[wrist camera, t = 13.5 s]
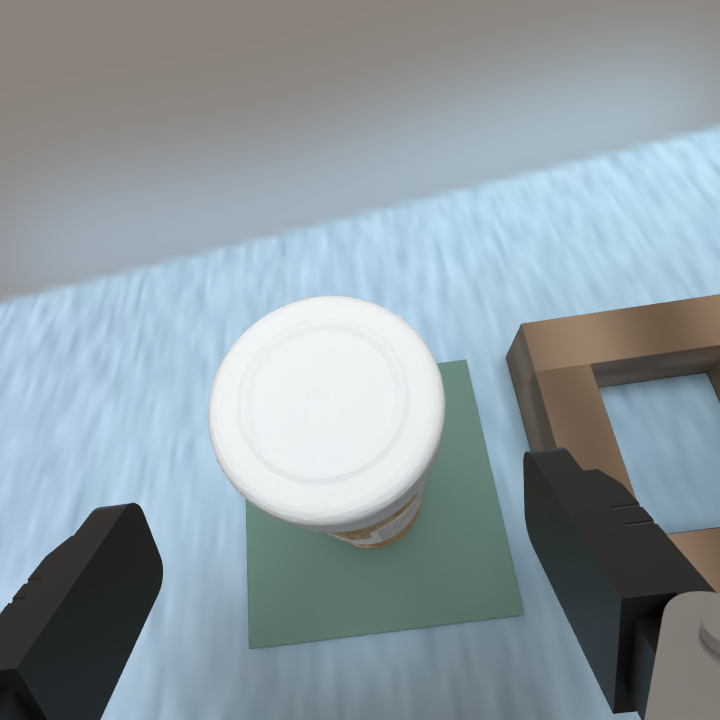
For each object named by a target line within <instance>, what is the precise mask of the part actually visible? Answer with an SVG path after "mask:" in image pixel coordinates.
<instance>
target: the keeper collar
mask: <svg viewBox="0 0 720 720" xmlns="http://www.w3.org/2000/svg"><path fill="white" fill-rule="evenodd" d="M506 359H507V363H508V366H509V370H510V374H511V378H512V382H513V385H514V389H515V393H516V397H517V400H518V404H519V408H520V412H521V415H522V419H523V423H524V427H525V430H526V434H527V438H528V442H529V446H530V449H531V451H537V450H545V449H552V448H560V447H564V448H566V449H567V450H568V451H569V453H570V454H571V455H572V456H573V458H574V459H575V460H576V462H577V463H578V464H579V466H580V467H581V468H582V469H583V471H584V470H592V469H599V470H600V471H602V472H604V473H605V474H607V475H609V476H610V477H612V478H614V479H615V480H617V481H619V482H620V483H622V484H623V485H624V486H625V487H626V488H627V490H628V491H629V492H630V493H631V494H632V495H633V497H634V498H635V499H636V497H635V494H634V491H633V488H632V485H631V483H630V480H629V477H628V474H627V471H626V468H625V465H624V462H623V459H622V456H621V453H620V450H619V447H618V444H617V442H616V439H615V436H614V433H613V430H612V427H611V424H610V421H609V418H608V415H607V412H606V409H605V406H604V403H603V400H602V398H601V395H600V392H599V389H598V387H605V386H612V385H619V384H626V383H633V382H640V381H647V380H654V379H661V378H668V377H675V376H683V375H690V374H697V373H704V372H707V373H708V375H709V378H710V380H711V382H712V384H713V387H714V389H715V391H716V393H717V396H718V398H719V400H720V294H719V295H712V296H706V297H699V298H692V299H685V300H679V301H672V302H665V303H658V304H652V305H645V306H638V307H631V308H625V309H618V310H611V311H604V312H598V313H591V314H584V315H578V316H571V317H564V318H557V319H551V320H544V321H537V322H530V323H524V324H521V326H520V328H519V330H518V332H517V334H516V336H515V338H514V341H513V343H512V345H511V347H510V349H509V351H508V353H507V356H506ZM666 535H667V536H668V537H669V538H670V539H671V541H672V542H673V543H674V544H675V545H676V546H677V548H678V549H679V550H680V551H681V552H682V553H683V554H684V556H685V557H686V558H687V559H688V560H689V561H690V563H691V564H692V565H693V566H694V567H695V568H696V570H697V571H698V572H699V573H700V574H701V575H702V576H703V578H704V579H705V580H706V581H707V582H708V583H709V585H710V586H711V587H712V588H713V589H714V590H715V591H716V592H717V593H719V594H720V527H718V528H710V529H702V530H695V531H687V532H679V533H672V534H666Z"/></svg>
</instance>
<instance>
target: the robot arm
mask: <svg viewBox="0 0 720 720" xmlns="http://www.w3.org/2000/svg"><path fill="white" fill-rule="evenodd" d="M523 467H524V505H525V520H526V526H527V530H528V534H529V538H530V541H531V543H532V546H533V548H534V550H535V552H536V554H537V556H538V558H539V560H540V562H541V565H542V567H543V569H544V571H545V573H546V575H547V577H548V579H549V581H550V583H551V585H552V587H553V590H554V592H555V594H556V596H557V598H558V600H559V602H560V604H561V606H562V608H563V610H564V612H565V615H566V617H567V619H568V621H569V623H570V625H571V627H572V629H573V631H574V633H575V635H576V637H577V640H578V642H579V644H580V646H581V648H582V650H583V652H584V654H585V656H586V658H587V660H588V662H589V665H590V667H591V669H592V671H593V673H594V675H595V677H596V679H597V681H598V683H599V685H600V687H601V690H602V692H603V694H604V696H605V698H606V700H607V702H608V704H609V706H610V708H611V710H612V712H613V714H616V713H625V712H635V711H637V712H638V714H639V716H640V718H641V720H720V594H719V593H717V592H716V591H715V590H714V589H713V588H712V587H711V586H710V585H709V583H708V582H707V581H706V580H705V579H704V578H703V576H702V575H701V574H700V573H699V572H698V571H697V570H696V568H695V567H694V566H693V565H692V564H691V563H690V561H689V560H688V559H687V558H686V557H685V556H684V554H683V553H682V552H681V551H680V550H679V549H678V548H677V546H676V545H675V544H674V543H673V542H672V541H671V539H670V538H669V537H668V536H667V535H666V534H665V532H664V531H663V530H662V529H661V528H660V527H659V526H658V524H654V521H653V519H652V517H651V516H650V515H649V514H648V513H647V512H646V510H645V509H644V508H643V507H640V506H639V502H638V501H637V500H636V499H635V498H634V497H633V495H632V494H631V493H630V492H629V491H628V490H627V488H626V487H625V486H624V485H623V484H622V483H620V482H619V481H617V480H615V479H614V478H612V477H610V476H609V475H607V474H605V473H604V472H602V471H600V470H599V469H592V470H584V471H583V469H582V468H581V467H580V466H579V464H578V463H577V462H576V460H575V459H574V458H573V456H572V455H571V454H570V453H569V451H568V450H567V449H566V448H564V447H560V448H552V449H545V450H537V451H530V452H526V453H525V454H524V459H523ZM162 579H163V565H162V560H161V557H160V554H159V551H158V549H157V546H156V544H155V541H154V539H153V536H152V533H151V531H150V528H149V526H148V523H147V521H146V518H145V515H144V513H143V511H142V509H141V507H140V506H139V505H138V504H136V503H130V504H122V505H115V506H107V507H100V508H96V509H95V510H94V511H93V512H92V513H91V514H90V515H89V516H88V518H87V519H86V520H85V522H84V523H83V524H82V526H81V527H80V528H79V529H78V531H77V532H76V533H75V535H74V536H71V537H69V538H68V539H67V540H66V541H64V542H63V543H62V544H61V545H60V546H58V547H57V548H56V549H55V550H53V551H52V552H51V553H50V554H48V555H47V556H46V557H45V558H44V560H43V561H42V562H41V563H40V565H39V566H38V567H37V568H36V570H35V571H34V572H33V573H32V575H31V576H30V577H29V578H28V583H27V584H24V585H23V586H22V587H21V588H20V590H19V591H18V592H17V593H16V595H15V596H14V597H13V598H12V599H13V602H12V603H8V605H7V606H6V607H5V608H4V610H3V611H2V612H1V613H0V720H100V719H101V717H102V715H103V713H104V711H105V708H106V706H107V704H108V702H109V700H110V698H111V695H112V693H113V691H114V689H115V687H116V685H117V682H118V680H119V678H120V676H121V674H122V672H123V669H124V667H125V665H126V663H127V661H128V659H129V656H130V654H131V652H132V650H133V648H134V646H135V643H136V641H137V639H138V637H139V635H140V633H141V630H142V628H143V626H144V624H145V622H146V620H147V617H148V615H149V613H150V611H151V609H152V607H153V604H154V602H155V600H156V598H157V596H158V594H159V591H160V588H161V585H162Z"/></svg>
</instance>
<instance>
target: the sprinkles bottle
mask: <svg viewBox="0 0 720 720" xmlns="http://www.w3.org/2000/svg"><path fill="white" fill-rule="evenodd" d="M444 420H445V394H444V387H443V382H442V377H441V373H440V370H439V368H438V365H437V362H436V360H435V358H434V356H433V354H432V353H431V351H430V349H429V347H428V346H427V344H426V342H425V341H424V340H423V339H422V337H421V336H420V335H419V334H418V333H417V332H416V331H415V329H414V328H412V327H411V326H410V325H409V324H408V323H407V322H405V321H404V320H403V319H402V318H400V317H399V316H397V315H396V314H394V313H393V312H391V311H389V310H388V309H386V308H384V307H381V306H379V305H377V304H374V303H372V302H369V301H366V300H361V299H357V298H353V297H344V296H321V297H314V298H308V299H303V300H299V301H296V302H293V303H291V304H288V305H285V306H283V307H280V308H278V309H276V310H274V311H272V312H271V313H269V314H267V315H266V316H264V317H263V318H261V319H260V320H258V321H257V322H256V323H254V324H253V325H252V326H251V327H250V328H248V329H247V330H246V331H245V332H244V333H243V334H242V335H241V336H240V338H239V339H238V340H237V341H236V342H235V343H234V345H233V346H232V347H231V349H230V350H229V351H228V353H227V355H226V356H225V358H224V360H223V361H222V363H221V365H220V367H219V370H218V372H217V374H216V376H215V379H214V382H213V386H212V390H211V395H210V400H209V416H208V423H209V432H210V439H211V443H212V446H213V449H214V452H215V455H216V458H217V461H218V463H219V465H220V467H221V469H222V471H223V472H224V474H225V476H226V477H227V478H228V480H229V481H230V482H231V484H232V485H233V487H234V488H235V489H236V490H237V491H238V492H239V493H240V494H241V495H242V496H243V497H244V498H246V499H247V500H248V501H249V502H250V503H252V504H253V505H254V506H256V507H257V508H259V509H260V510H262V511H264V512H265V513H267V514H269V515H271V516H273V517H275V518H277V519H279V520H281V521H284V522H286V523H289V524H291V525H294V526H297V527H300V528H303V529H307V530H311V531H318V532H326V533H328V534H329V535H332V536H334V537H336V538H338V539H341V540H343V541H345V542H346V543H348V544H350V545H353V546H355V547H358V548H364V549H365V548H370V549H376V548H380V547H385V546H387V545H390V544H392V543H394V542H395V541H397V540H399V539H401V538H402V537H404V536H405V534H406V533H407V532H408V530H409V529H410V528H411V527H412V526H413V524H414V523H415V521H416V519H417V517H418V515H419V512H420V507H421V503H422V494H423V490H424V485H425V481H426V479H427V478H428V476H429V474H430V472H431V470H432V468H433V466H434V463H435V460H436V457H437V454H438V450H439V447H440V442H441V437H442V431H443V426H444Z"/></svg>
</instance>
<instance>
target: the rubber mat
mask: <svg viewBox="0 0 720 720" xmlns="http://www.w3.org/2000/svg"><path fill="white" fill-rule="evenodd" d="M437 365H438V368H439V370H440V373H441V377H442V382H443V387H444V394H445V420H444V426H443V431H442V437H441V442H440V447H439V450H438V454H437V457H436V460H435V463H434V466H433V468H432V470H431V472H430V474H429V476H428V478H427V479H426V481H425V485H424V490H423V494H422V503H421V507H420V512H419V515H418V517H417V519H416V521H415V523H414V524H413V526H412V527H411V528H410V529H409V530H408V532H407V533H406V534H405V536H404V537H402V538H401V539H399V540H397V541H395V542H394V543H392V544H390V545H387V546H385V547H380V548H376V549H370V548H365V549H364V548H358V547H355V546H353V545H350V544H348V543H346V542H345V541H343V540H341V539H338V538H336V537H334V536H332V535H329V534H328V533H326V532H318V531H311V530H307V529H303V528H300V527H297V526H294V525H291V524H289V523H286V522H284V521H281V520H279V519H277V518H275V517H273V516H271V515H269V514H267V513H265V512H264V511H262V510H260V509H259V508H257V507H256V506H254V505H253V504H252V503H250V502H249V501H248V500H247V499H246V532H247V577H248V623H249V649H254V648H262V647H270V646H278V645H286V644H294V643H302V642H310V641H318V640H326V639H334V638H342V637H350V636H358V635H366V634H374V633H382V632H390V631H398V630H406V629H414V628H422V627H430V626H438V625H446V624H454V623H462V622H470V621H478V620H486V619H494V618H502V617H510V616H518V615H524V611H523V607H522V602H521V598H520V594H519V589H518V585H517V580H516V576H515V572H514V567H513V563H512V558H511V554H510V550H509V545H508V541H507V537H506V532H505V528H504V523H503V519H502V515H501V510H500V506H499V501H498V497H497V493H496V488H495V484H494V480H493V475H492V471H491V466H490V462H489V458H488V453H487V449H486V445H485V440H484V436H483V431H482V427H481V423H480V418H479V414H478V409H477V405H476V401H475V396H474V392H473V388H472V383H471V379H470V374H469V370H468V366H467V361H466V360H459V361H452V362H446V363H439V364H437Z"/></svg>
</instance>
